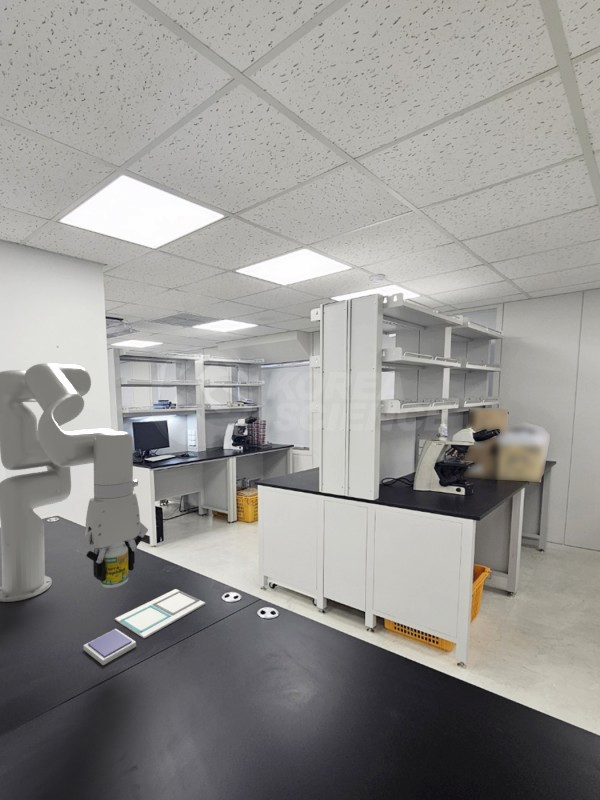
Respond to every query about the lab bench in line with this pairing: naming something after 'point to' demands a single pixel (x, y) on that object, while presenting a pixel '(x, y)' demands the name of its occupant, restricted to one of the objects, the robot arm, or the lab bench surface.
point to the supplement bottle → (116, 565)
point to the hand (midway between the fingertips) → (114, 573)
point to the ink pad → (109, 646)
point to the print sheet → (159, 612)
